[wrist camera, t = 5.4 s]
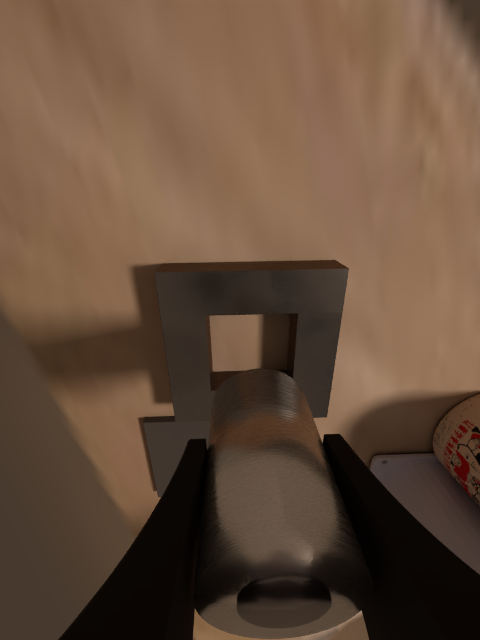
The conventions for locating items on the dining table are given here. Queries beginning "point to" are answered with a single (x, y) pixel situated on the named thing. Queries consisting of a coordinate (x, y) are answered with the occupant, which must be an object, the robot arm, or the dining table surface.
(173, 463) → the rubber mat
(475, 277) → the dining table surface
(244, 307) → the block
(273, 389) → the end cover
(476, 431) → the teacup with lid
